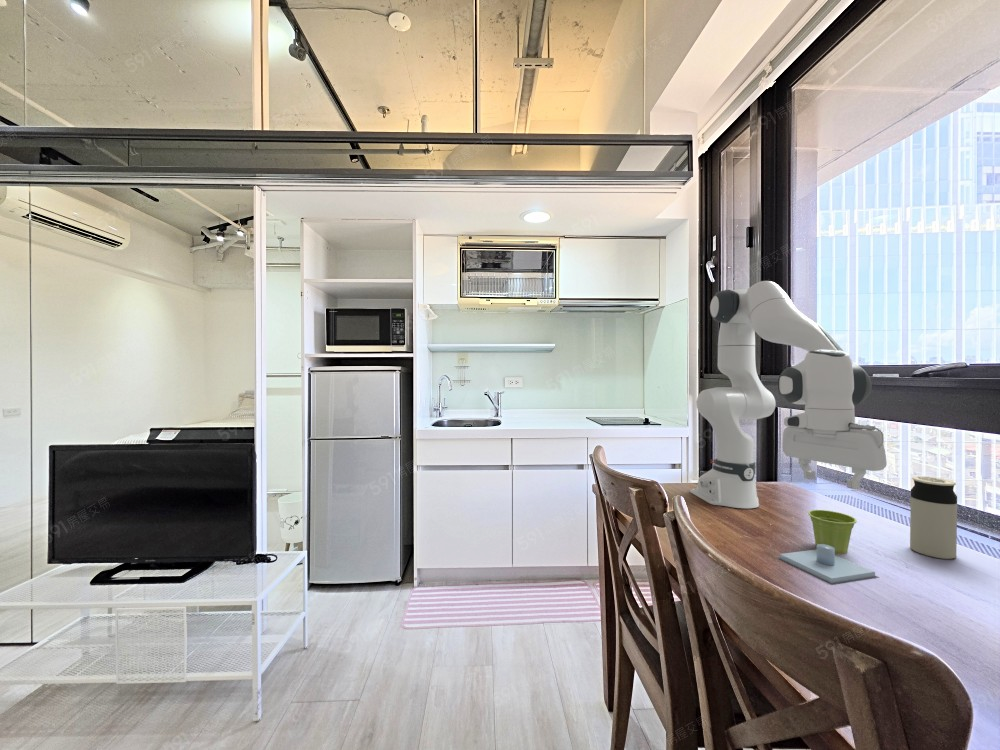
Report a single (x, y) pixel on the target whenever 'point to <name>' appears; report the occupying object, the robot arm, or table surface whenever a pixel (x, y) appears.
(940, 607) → the table surface
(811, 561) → the lid
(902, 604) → the table surface
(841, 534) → the plant pot
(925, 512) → the travel mug
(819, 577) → the mat
